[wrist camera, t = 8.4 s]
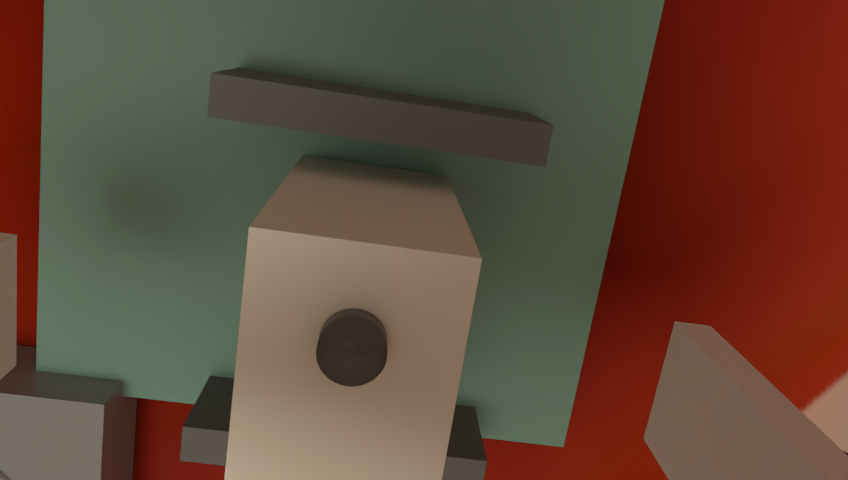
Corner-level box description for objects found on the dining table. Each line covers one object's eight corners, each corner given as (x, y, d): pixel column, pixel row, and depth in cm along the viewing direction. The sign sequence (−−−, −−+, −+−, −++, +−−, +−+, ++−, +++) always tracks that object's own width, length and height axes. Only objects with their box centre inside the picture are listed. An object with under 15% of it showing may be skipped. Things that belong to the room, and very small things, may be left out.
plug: (302, 154, 20) (241, 235, 12) (447, 176, 20) (486, 269, 12) (277, 375, 22) (209, 581, 14) (411, 391, 22) (425, 601, 14)
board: (83, -477, 18) (-17, -645, 13) (721, -342, 19) (820, -455, 15) (57, 381, 23) (-19, 459, 19) (549, 439, 25) (583, 524, 20)
